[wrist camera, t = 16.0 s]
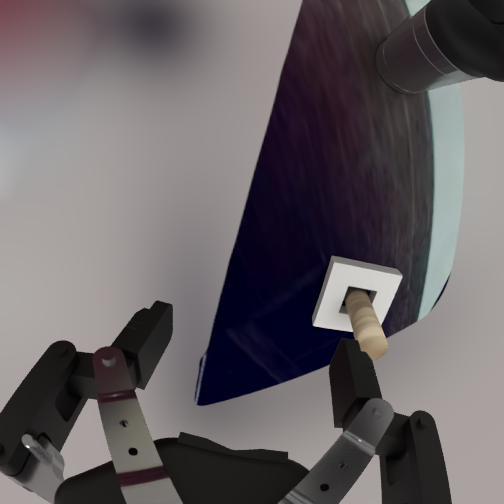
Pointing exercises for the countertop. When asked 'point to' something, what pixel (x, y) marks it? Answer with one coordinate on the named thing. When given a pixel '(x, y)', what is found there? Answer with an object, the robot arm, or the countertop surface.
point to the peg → (365, 323)
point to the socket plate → (355, 275)
